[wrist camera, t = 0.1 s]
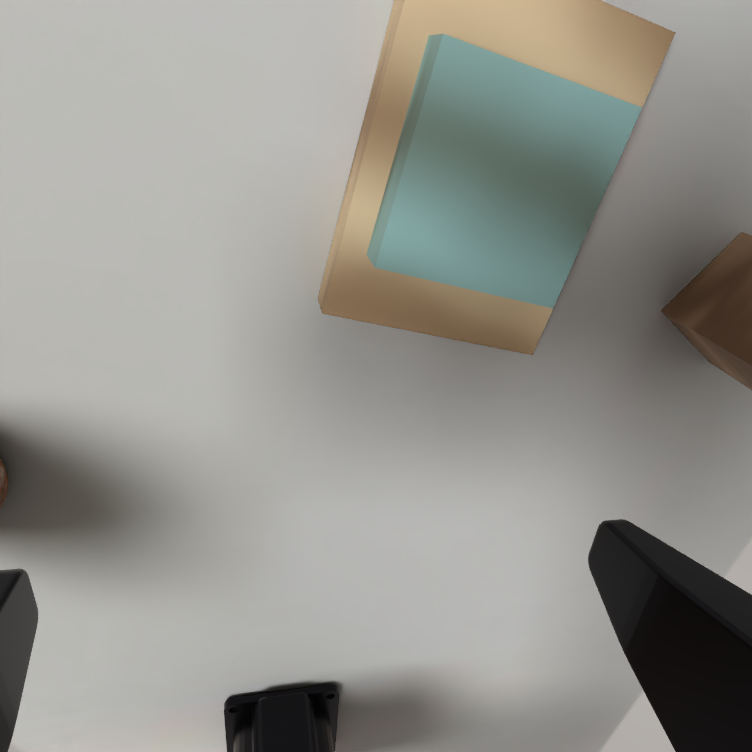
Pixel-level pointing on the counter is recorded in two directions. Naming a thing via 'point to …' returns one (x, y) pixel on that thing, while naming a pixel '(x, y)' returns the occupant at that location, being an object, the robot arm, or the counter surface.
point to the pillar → (720, 310)
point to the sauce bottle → (3, 483)
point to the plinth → (510, 35)
